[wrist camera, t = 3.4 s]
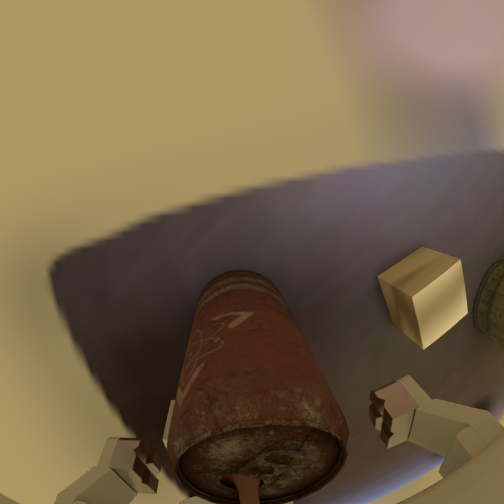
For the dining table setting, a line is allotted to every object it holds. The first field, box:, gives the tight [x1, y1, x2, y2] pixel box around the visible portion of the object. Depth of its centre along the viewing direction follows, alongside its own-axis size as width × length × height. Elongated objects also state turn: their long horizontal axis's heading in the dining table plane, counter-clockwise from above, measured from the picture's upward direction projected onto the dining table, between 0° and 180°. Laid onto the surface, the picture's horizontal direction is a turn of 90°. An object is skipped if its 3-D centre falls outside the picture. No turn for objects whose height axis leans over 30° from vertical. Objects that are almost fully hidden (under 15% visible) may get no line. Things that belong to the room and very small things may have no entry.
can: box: [166, 271, 349, 504], centre depth 13 cm, size 6×6×14 cm
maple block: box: [377, 247, 468, 350], centre depth 19 cm, size 5×5×5 cm
